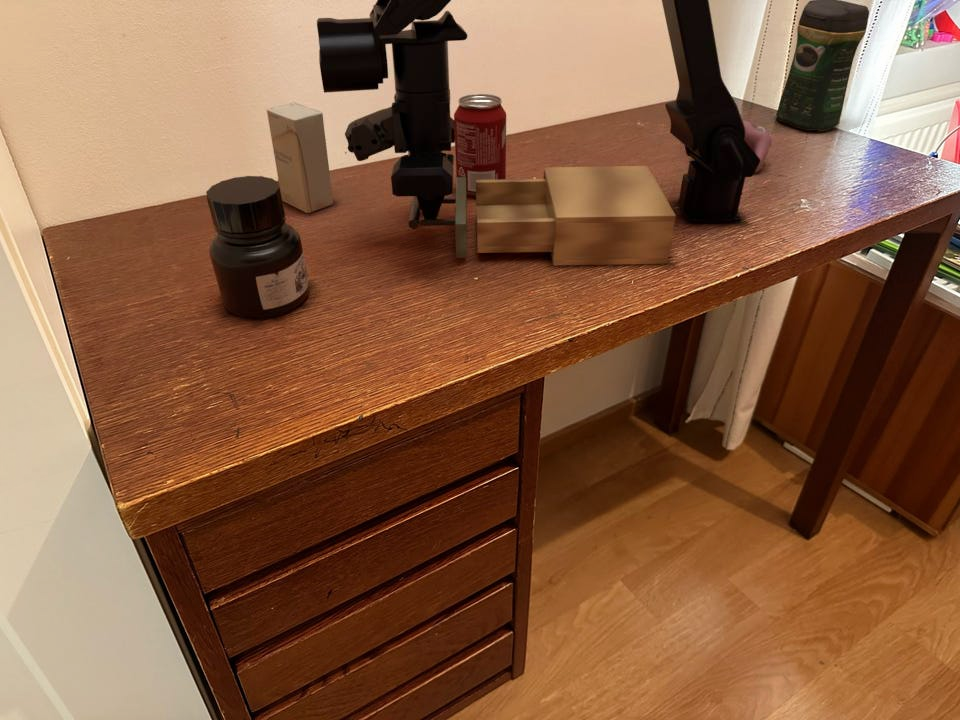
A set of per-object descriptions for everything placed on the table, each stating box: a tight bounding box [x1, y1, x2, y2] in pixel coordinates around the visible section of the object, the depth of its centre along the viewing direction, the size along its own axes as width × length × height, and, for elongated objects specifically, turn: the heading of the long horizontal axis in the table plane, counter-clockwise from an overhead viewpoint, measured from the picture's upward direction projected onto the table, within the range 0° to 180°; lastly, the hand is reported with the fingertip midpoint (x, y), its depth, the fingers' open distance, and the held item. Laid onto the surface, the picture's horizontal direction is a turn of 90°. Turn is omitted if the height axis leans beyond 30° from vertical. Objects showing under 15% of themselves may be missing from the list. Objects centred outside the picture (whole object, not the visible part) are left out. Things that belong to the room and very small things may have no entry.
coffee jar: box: [776, 0, 870, 132], centre depth 110 cm, size 10×8×19 cm
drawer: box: [407, 176, 555, 259], centre depth 82 cm, size 17×13×4 cm
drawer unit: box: [543, 165, 677, 267], centre depth 82 cm, size 13×14×6 cm
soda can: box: [453, 93, 507, 198], centre depth 91 cm, size 7×7×12 cm
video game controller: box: [742, 120, 773, 174], centre depth 101 cm, size 10×5×7 cm, turn 58°
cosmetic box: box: [266, 101, 334, 214], centre depth 88 cm, size 6×4×12 cm
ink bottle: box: [205, 175, 310, 318], centre depth 69 cm, size 10×9×12 cm
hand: (429, 222), depth 82 cm, fingers closed
